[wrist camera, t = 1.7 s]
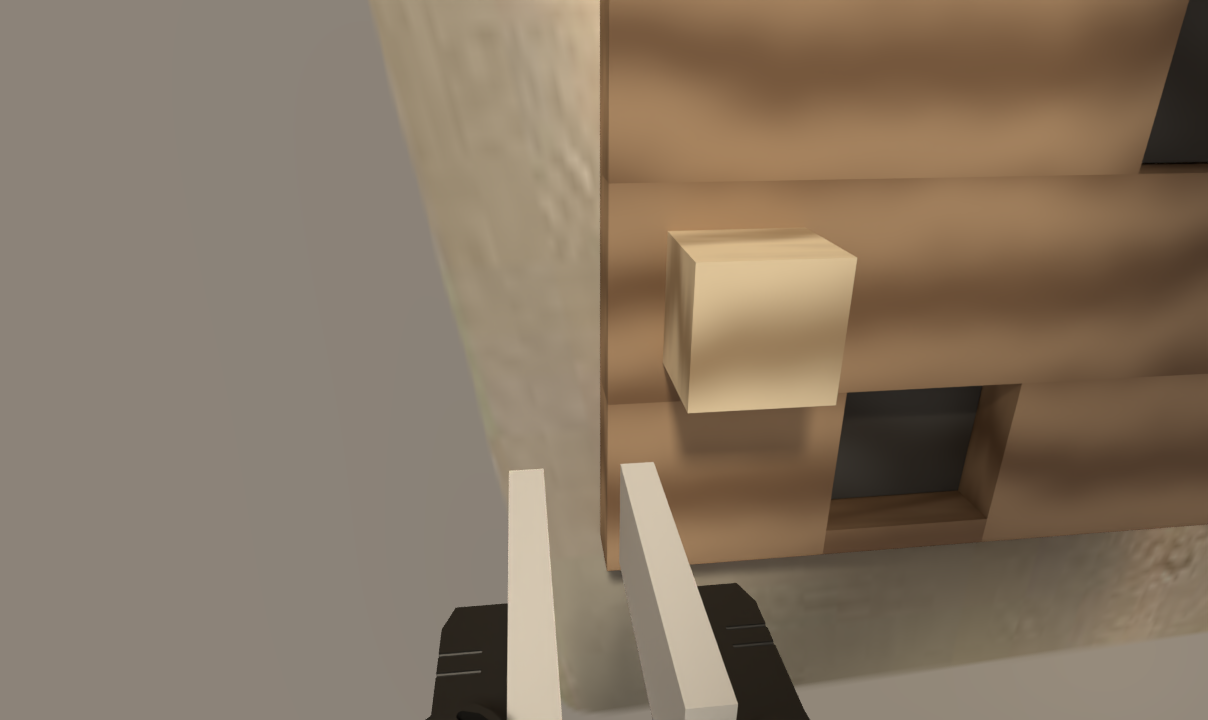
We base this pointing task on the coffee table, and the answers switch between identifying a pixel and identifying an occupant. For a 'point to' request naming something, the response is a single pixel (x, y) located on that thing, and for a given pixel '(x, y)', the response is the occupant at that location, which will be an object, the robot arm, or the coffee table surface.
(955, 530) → the board
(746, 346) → the maple block
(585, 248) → the coffee table surface
